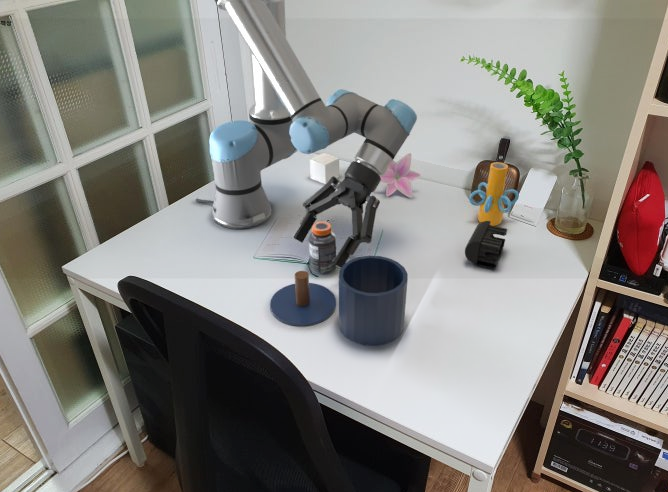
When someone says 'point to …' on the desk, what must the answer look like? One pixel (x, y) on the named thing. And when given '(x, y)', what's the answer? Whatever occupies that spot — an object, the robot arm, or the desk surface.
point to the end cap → (485, 245)
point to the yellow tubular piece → (494, 195)
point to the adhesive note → (324, 168)
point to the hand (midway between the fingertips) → (316, 252)
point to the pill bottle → (322, 248)
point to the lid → (303, 302)
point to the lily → (400, 176)
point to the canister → (372, 300)
